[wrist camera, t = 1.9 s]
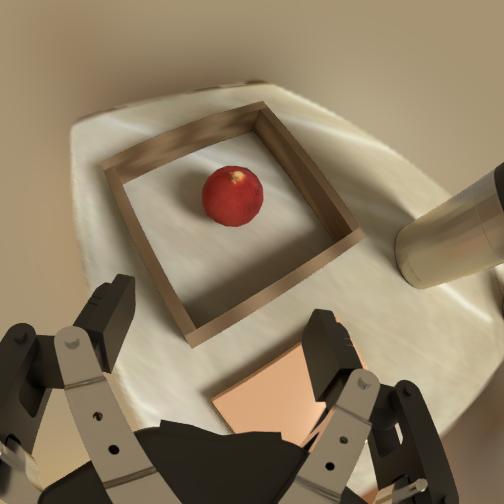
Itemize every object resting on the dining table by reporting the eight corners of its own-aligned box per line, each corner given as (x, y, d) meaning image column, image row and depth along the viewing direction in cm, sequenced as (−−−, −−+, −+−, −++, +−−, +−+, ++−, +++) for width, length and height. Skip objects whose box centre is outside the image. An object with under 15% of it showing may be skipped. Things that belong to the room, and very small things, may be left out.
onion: (226, 180, 31) (236, 134, 23) (265, 212, 30) (286, 173, 23) (190, 213, 29) (189, 171, 21) (230, 248, 28) (242, 216, 21)
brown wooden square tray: (256, 121, 34) (262, 101, 30) (348, 248, 31) (366, 236, 27) (109, 181, 28) (100, 162, 24) (192, 346, 25) (192, 348, 21)
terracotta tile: (331, 317, 28) (337, 316, 27) (386, 413, 26) (394, 415, 25) (211, 398, 24) (212, 401, 22) (287, 490, 21) (291, 496, 20)
